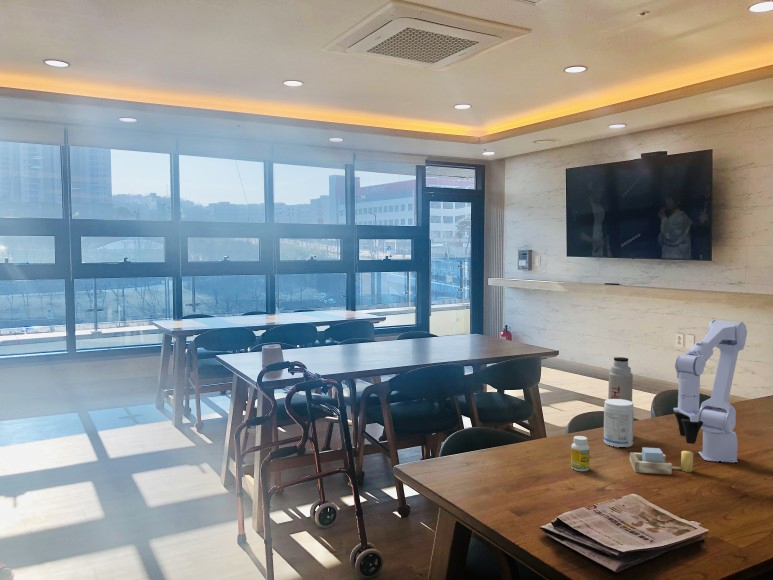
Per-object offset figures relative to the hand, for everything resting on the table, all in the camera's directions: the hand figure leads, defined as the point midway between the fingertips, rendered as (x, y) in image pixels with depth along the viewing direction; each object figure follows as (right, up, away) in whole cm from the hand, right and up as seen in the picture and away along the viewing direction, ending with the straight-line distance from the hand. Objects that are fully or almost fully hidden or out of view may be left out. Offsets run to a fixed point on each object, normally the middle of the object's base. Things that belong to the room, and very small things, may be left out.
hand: (687, 439), depth 189 cm
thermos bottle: (-7, -7, +37) cm, 38 cm away
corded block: (-5, -9, +2) cm, 11 cm away
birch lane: (-9, -9, +3) cm, 14 cm away
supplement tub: (-11, -8, +26) cm, 30 cm away
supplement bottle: (-32, -10, +2) cm, 33 cm away
